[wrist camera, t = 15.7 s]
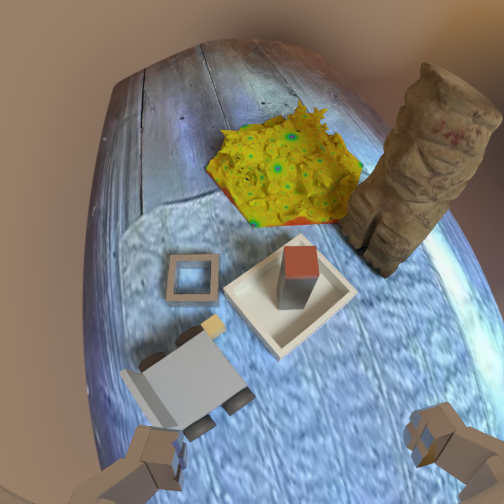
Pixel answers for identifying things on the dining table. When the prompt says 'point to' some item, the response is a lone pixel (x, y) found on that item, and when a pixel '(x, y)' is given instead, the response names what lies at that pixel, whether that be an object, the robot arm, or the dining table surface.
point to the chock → (213, 326)
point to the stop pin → (297, 276)
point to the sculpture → (419, 167)
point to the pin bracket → (193, 263)
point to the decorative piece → (286, 171)
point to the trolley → (187, 385)
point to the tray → (286, 321)
